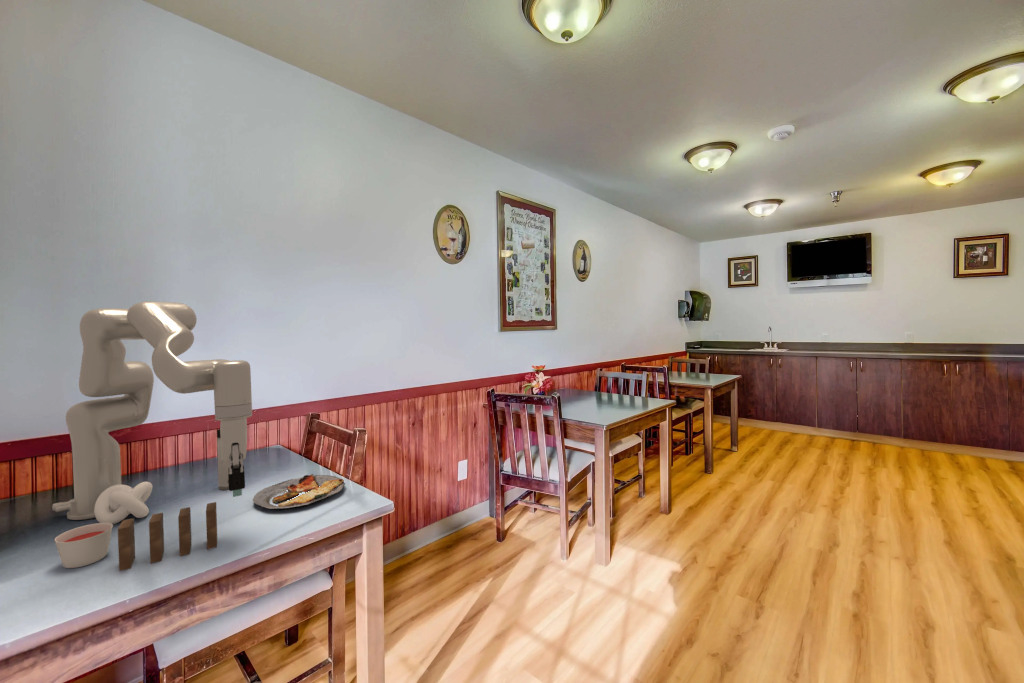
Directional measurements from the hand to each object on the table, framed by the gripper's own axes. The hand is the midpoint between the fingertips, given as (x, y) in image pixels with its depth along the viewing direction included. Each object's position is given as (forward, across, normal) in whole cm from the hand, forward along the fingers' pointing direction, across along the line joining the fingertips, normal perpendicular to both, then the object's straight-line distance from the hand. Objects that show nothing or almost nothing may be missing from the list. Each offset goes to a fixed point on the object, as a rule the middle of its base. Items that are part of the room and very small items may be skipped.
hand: (236, 485), depth 101 cm
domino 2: (+13, 0, -15) cm, 20 cm away
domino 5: (+2, 0, 0) cm, 2 cm away
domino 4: (+13, 0, -5) cm, 14 cm away
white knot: (+13, -30, -25) cm, 41 cm away
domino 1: (+13, 0, -20) cm, 24 cm away
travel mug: (+13, -42, -2) cm, 44 cm away
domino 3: (+13, 0, -10) cm, 17 cm away
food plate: (+13, -20, +16) cm, 29 cm away
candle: (+13, -8, -28) cm, 32 cm away
